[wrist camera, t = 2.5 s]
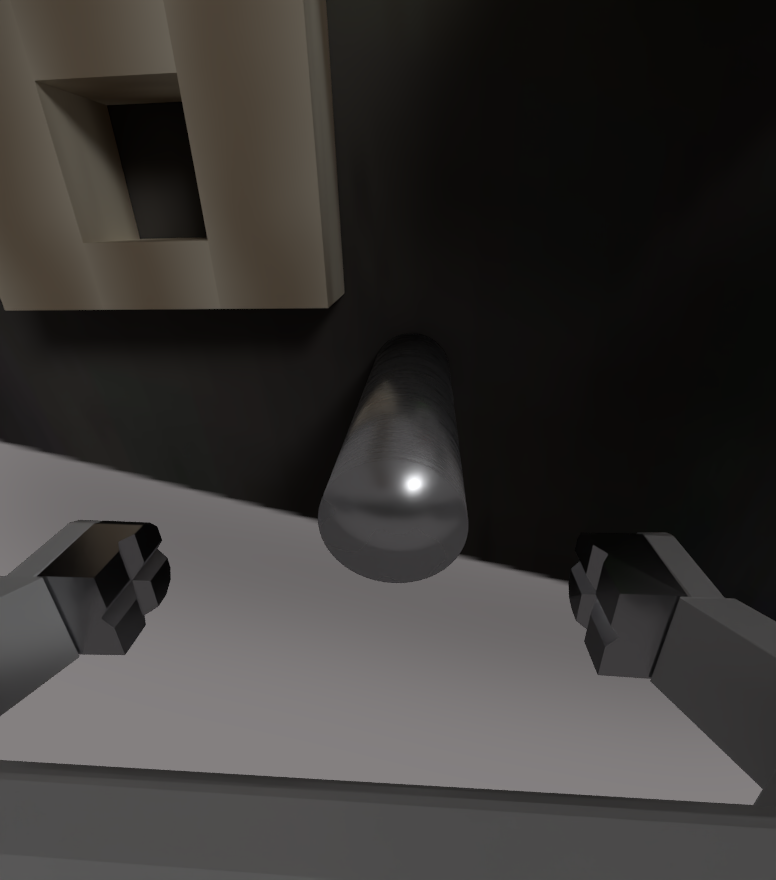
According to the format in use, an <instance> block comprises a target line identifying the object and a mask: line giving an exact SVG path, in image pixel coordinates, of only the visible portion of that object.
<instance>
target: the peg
mask: <svg viewBox="0 0 776 880" xmlns="http://www.w3.org/2000/svg"><path fill="white" fill-rule="evenodd" d="M318 525H319V530H320V534H321V536H322V539H323V541H324V543H325V545H326V547H327V548H328V550H329V551H330V552H331V553H332V555H333V556H334V557H335V558H336V559H337V560H338V561H339V562H341V563H342V564H343V565H344V566H345V567H347V568H349V569H350V570H352V571H353V572H355V573H357V574H359V575H362V576H364V577H366V578H370V579H373V580H377V581H382V582H391V583H406V582H413V581H418V580H422V579H425V578H428V577H430V576H433V575H435V574H437V573H439V572H440V571H442V570H444V569H445V568H446V567H447V566H449V565H450V564H451V563H452V562H453V561H454V560H455V559H456V558H457V556H458V555H459V554H460V552H461V551H462V549H463V547H464V545H465V542H466V539H467V534H468V515H467V507H466V499H465V490H464V482H463V474H462V466H461V458H460V450H459V442H458V434H457V425H456V417H455V409H454V401H453V393H452V385H451V377H450V368H449V362H448V359H447V356H446V354H445V352H444V350H443V349H442V348H441V346H440V345H439V344H438V343H437V342H435V341H434V340H433V339H431V338H429V337H427V336H424V335H421V334H415V333H409V334H402V335H399V336H396V337H394V338H392V339H391V340H389V341H388V342H387V343H386V344H385V345H384V346H383V347H382V348H381V349H380V351H379V353H378V355H377V357H376V359H375V362H374V365H373V367H372V370H371V372H370V375H369V378H368V380H367V383H366V385H365V388H364V391H363V393H362V396H361V398H360V401H359V404H358V406H357V409H356V411H355V414H354V417H353V419H352V422H351V424H350V427H349V430H348V432H347V435H346V437H345V440H344V443H343V445H342V448H341V450H340V453H339V456H338V458H337V461H336V463H335V466H334V469H333V471H332V474H331V476H330V479H329V482H328V484H327V487H326V489H325V492H324V495H323V497H322V500H321V503H320V506H319V512H318Z"/></svg>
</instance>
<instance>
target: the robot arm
mask: <svg viewBox="0 0 776 880" xmlns="http://www.w3.org/2000/svg"><path fill="white" fill-rule="evenodd" d="M161 541H162V539H161V536H160V533H159V530H158V528H157V526H155V525H153V524H151V523H143V522H121V521H91V520H78V521H74V522H70V523H69V524H68V525H66V526H65V527H64V528H63V529H62V530H60V531H59V532H58V533H57V534H56V535H54V536H53V537H52V538H51V539H50V540H49V541H47V542H46V543H45V544H44V545H43V546H41V547H40V548H39V549H38V550H37V551H36V552H34V553H33V554H32V555H31V556H30V557H28V558H27V559H26V560H25V561H24V562H23V563H21V564H20V565H19V566H18V567H16V568H15V569H14V570H13V571H12V572H11V573H9V574H8V575H7V576H0V716H1V715H2V714H4V713H5V712H6V711H8V710H9V709H10V708H12V707H13V706H14V705H16V704H17V703H18V702H20V701H21V700H22V699H24V698H25V697H26V696H28V695H29V694H30V693H32V692H33V691H34V690H36V689H37V688H38V687H40V686H41V685H42V684H44V683H45V682H46V681H48V680H49V679H50V678H52V677H53V676H54V675H56V674H57V673H58V672H60V671H61V670H62V669H64V668H65V667H67V666H68V665H69V664H70V663H72V662H73V661H74V660H76V659H77V658H78V657H79V654H97V655H99V654H100V655H125V654H126V653H127V651H128V650H129V648H130V647H131V645H132V644H133V643H134V641H135V640H136V638H137V637H138V635H139V634H140V632H141V631H142V629H143V628H144V627H145V625H146V624H145V616H144V615H145V614H147V613H149V612H150V611H152V610H153V609H155V608H156V607H158V606H159V605H160V603H161V602H162V600H163V598H164V597H165V595H166V593H167V590H168V586H169V583H170V565H169V562H168V558H167V557H166V556H165V555H163V554H162V553H161V552H160V551H159V550H158V549H157V548H158V547H159V545H160V543H161ZM575 552H576V554H577V556H578V558H579V560H580V561H579V562H578V563H577V564H576V565H575V566H574V567H573V568H571V572H570V578H569V598H570V603H571V608H572V611H573V614H574V616H575V619H576V621H577V622H579V623H580V624H581V625H582V626H583V627H585V628H586V629H587V632H586V636H585V641H584V642H585V644H586V647H587V649H588V652H589V654H590V656H591V659H592V661H593V664H594V667H595V669H596V671H597V674H598V675H606V676H621V677H635V678H650V679H651V682H652V683H653V684H654V685H655V686H656V687H657V688H658V689H659V690H660V691H661V692H662V693H663V694H664V695H665V696H666V697H667V698H669V700H671V701H672V702H673V703H674V704H675V705H676V706H677V707H678V708H679V709H680V710H681V711H682V712H683V713H684V714H685V715H686V716H687V717H688V718H689V719H690V720H691V721H692V722H694V723H695V724H696V725H697V726H698V727H699V728H700V729H701V730H702V731H703V732H704V733H705V734H706V735H707V736H708V737H709V738H710V739H711V740H712V741H713V742H715V744H716V745H718V746H719V747H720V748H721V749H722V750H723V751H724V752H725V753H726V754H727V755H728V756H729V757H730V758H731V759H732V760H733V761H734V762H735V763H736V764H737V765H738V766H739V767H740V768H741V769H742V770H744V771H745V772H746V773H747V774H748V775H749V776H750V777H751V778H752V779H753V780H754V781H755V782H756V783H757V784H758V785H759V786H760V787H761V788H762V789H763V790H762V792H761V793H760V795H759V796H758V798H757V800H756V802H755V803H754V805H742V804H725V803H708V802H691V801H675V800H659V799H642V798H625V797H608V796H592V795H574V794H558V793H541V792H524V791H508V790H491V789H474V788H457V787H440V786H423V785H405V784H389V783H372V782H356V781H354V782H353V781H339V780H322V779H305V778H288V777H272V776H255V775H238V774H222V773H206V772H205V773H204V772H189V771H171V770H156V769H139V768H122V767H106V766H88V765H73V764H56V763H38V762H23V761H6V760H0V880H776V621H774V620H772V619H770V618H769V617H767V616H765V615H763V614H761V613H760V612H758V611H756V610H754V609H752V608H751V607H749V606H747V605H745V604H744V603H742V602H740V601H738V600H736V599H731V598H724V597H723V595H722V594H721V593H720V592H719V590H718V589H717V588H716V587H715V586H714V584H713V583H712V582H711V581H710V580H709V578H708V577H707V576H706V575H705V574H704V572H703V571H702V570H701V569H700V567H699V566H698V565H697V564H696V563H695V561H694V560H693V559H692V558H691V557H690V555H689V554H688V553H687V552H686V550H685V549H684V548H683V547H682V546H681V544H680V543H679V542H678V541H677V540H676V538H675V537H674V536H673V535H671V534H669V533H667V532H640V533H580V535H579V537H578V539H577V542H576V547H575Z"/></svg>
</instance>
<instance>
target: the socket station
mask: <svg viewBox="0 0 776 880" xmlns="http://www.w3.org/2000/svg"><path fill="white" fill-rule="evenodd" d="M163 102H182V104H183V110H184V115H185V120H186V126H187V131H188V136H189V142H190V147H191V153H192V158H193V163H194V169H195V174H196V179H197V185H198V190H199V196H200V201H201V206H202V212H203V217H204V223H205V228H206V233H207V237H203V238H158V239H140V237H139V233H138V229H137V225H136V221H135V217H134V213H133V209H132V205H131V201H130V197H129V193H128V189H127V185H126V181H125V177H124V173H123V169H122V164H121V160H120V156H119V152H118V148H117V144H116V140H115V136H114V132H113V128H112V124H111V120H110V116H109V112H108V108H107V105H123V104H143V103H163ZM344 293H345V292H344V276H343V260H342V244H341V229H340V213H339V197H338V182H337V166H336V150H335V134H334V119H333V103H332V87H331V71H330V56H329V40H328V24H327V8H326V0H0V299H1V301H2V304H3V306H4V309H5V311H8V310H143V309H278V308H329V307H330V306H331V305H332V304H333V303H334V302H335V301H337V300H338V299H339V298H340V297H341V296H342V295H343V294H344Z"/></svg>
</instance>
